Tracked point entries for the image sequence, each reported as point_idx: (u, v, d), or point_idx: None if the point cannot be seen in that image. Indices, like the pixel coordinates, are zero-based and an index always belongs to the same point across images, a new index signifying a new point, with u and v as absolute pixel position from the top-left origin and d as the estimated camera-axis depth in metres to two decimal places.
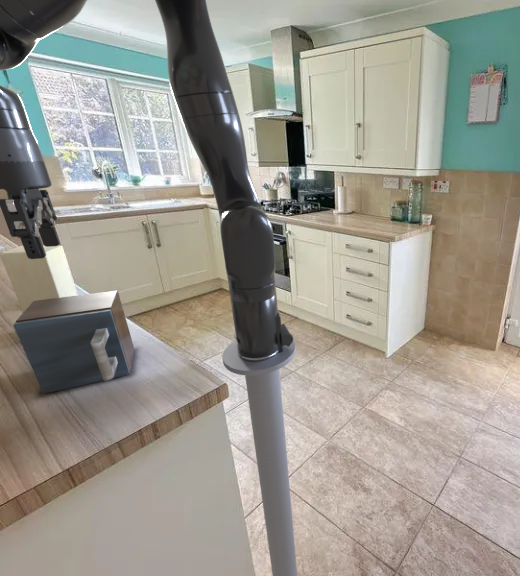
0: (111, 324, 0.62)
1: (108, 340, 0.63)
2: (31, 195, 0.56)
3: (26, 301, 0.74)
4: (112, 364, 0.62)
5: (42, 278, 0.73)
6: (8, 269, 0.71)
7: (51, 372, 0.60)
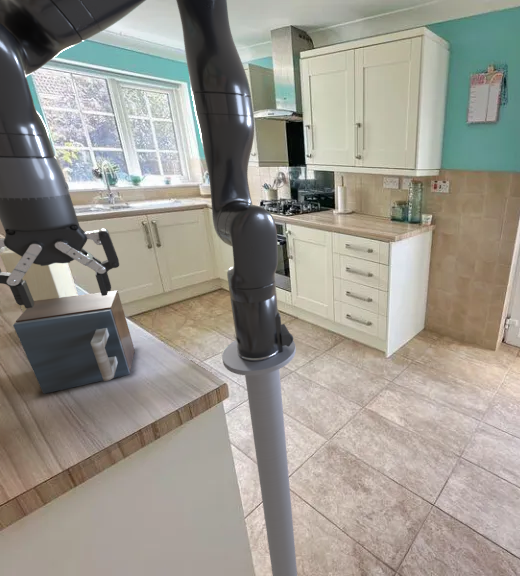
0: (111, 324, 0.62)
1: (108, 340, 0.63)
2: (35, 237, 0.45)
3: None
4: (112, 364, 0.62)
5: (42, 278, 0.73)
6: (8, 269, 0.71)
7: (51, 372, 0.60)
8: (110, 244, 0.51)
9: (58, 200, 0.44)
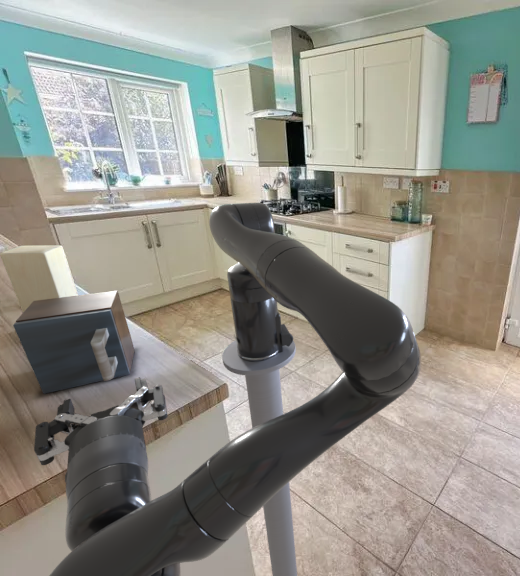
0: (111, 324, 0.62)
1: (108, 340, 0.63)
2: None
3: (26, 301, 0.74)
4: (112, 364, 0.62)
5: (42, 278, 0.73)
6: (8, 269, 0.71)
7: (51, 372, 0.60)
8: None
9: None
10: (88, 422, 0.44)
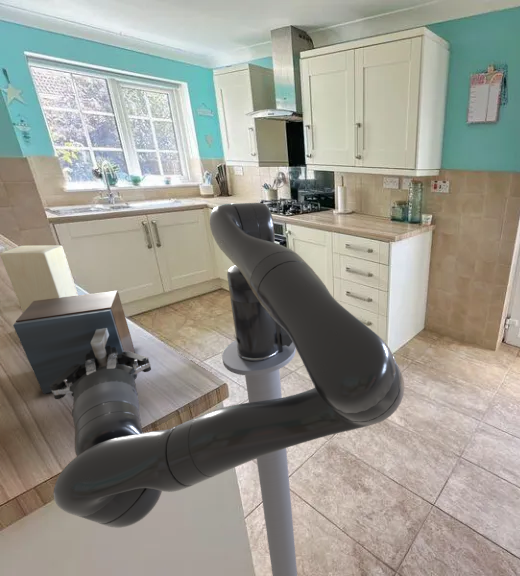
0: (111, 324, 0.62)
1: (108, 340, 0.63)
2: None
3: (26, 301, 0.74)
4: None
5: (42, 278, 0.73)
6: (8, 269, 0.71)
7: (51, 372, 0.60)
8: None
9: None
10: (89, 374, 0.53)
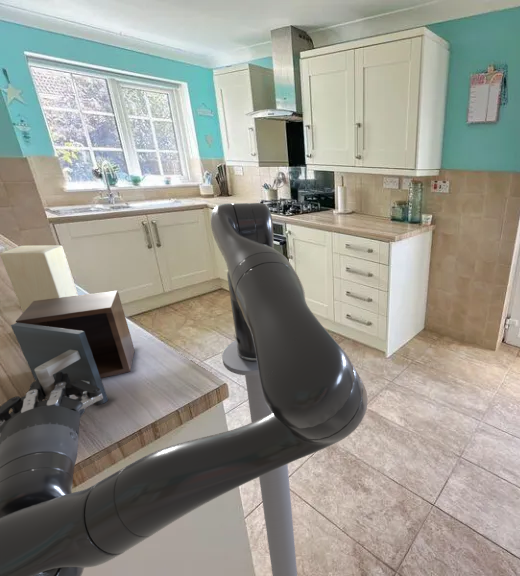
0: (81, 348, 0.55)
1: (81, 363, 0.56)
2: None
3: (26, 301, 0.74)
4: None
5: (42, 278, 0.73)
6: (8, 269, 0.71)
7: None
8: None
9: None
10: (24, 411, 0.45)
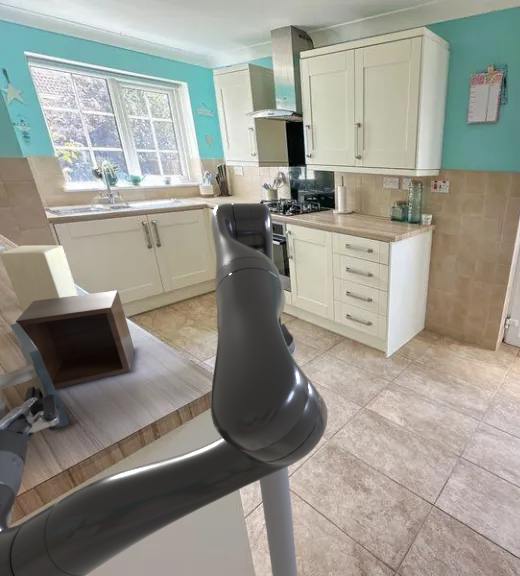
0: (35, 367, 0.50)
1: (40, 381, 0.52)
2: None
3: (26, 301, 0.74)
4: None
5: (42, 278, 0.73)
6: (8, 269, 0.71)
7: (35, 380, 0.58)
8: None
9: None
10: None
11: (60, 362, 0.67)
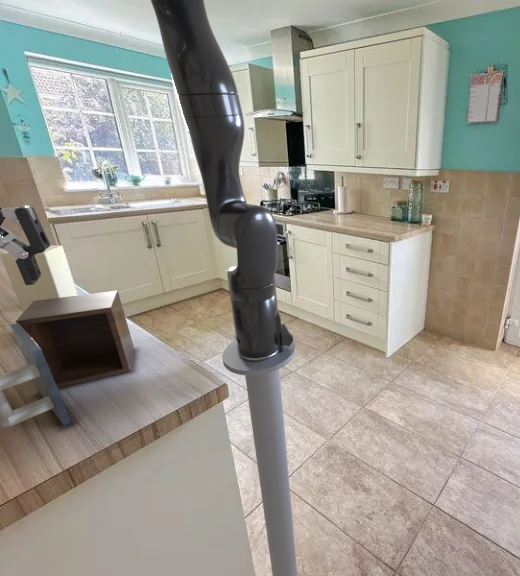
0: (38, 366, 0.50)
1: (43, 380, 0.52)
2: None
3: (26, 301, 0.74)
4: (25, 410, 0.51)
5: (42, 278, 0.73)
6: (8, 269, 0.71)
7: (35, 379, 0.58)
8: (31, 224, 0.42)
9: None
10: None
11: (60, 362, 0.67)
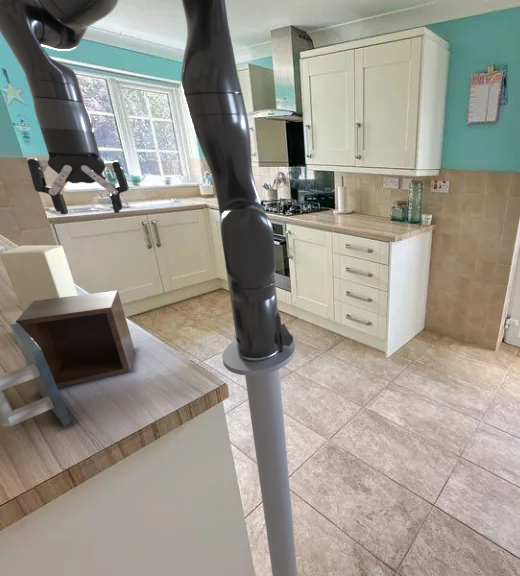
0: (38, 366, 0.50)
1: (43, 380, 0.52)
2: (68, 160, 0.63)
3: (26, 301, 0.74)
4: (25, 410, 0.51)
5: (42, 278, 0.73)
6: (8, 269, 0.71)
7: (35, 379, 0.58)
8: (121, 172, 0.68)
9: (83, 133, 0.62)
10: None
11: (60, 362, 0.67)
